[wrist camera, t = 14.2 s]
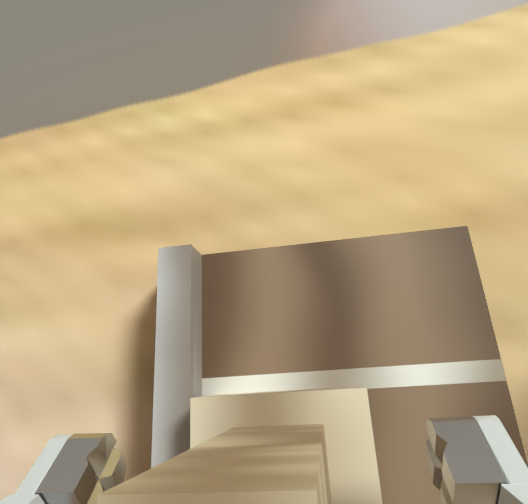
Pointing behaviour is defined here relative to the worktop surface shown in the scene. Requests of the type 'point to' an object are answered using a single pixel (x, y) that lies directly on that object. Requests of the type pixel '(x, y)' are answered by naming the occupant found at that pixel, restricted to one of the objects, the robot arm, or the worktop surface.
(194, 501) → the stacked beige blocks
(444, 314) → the walnut board
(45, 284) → the worktop surface
